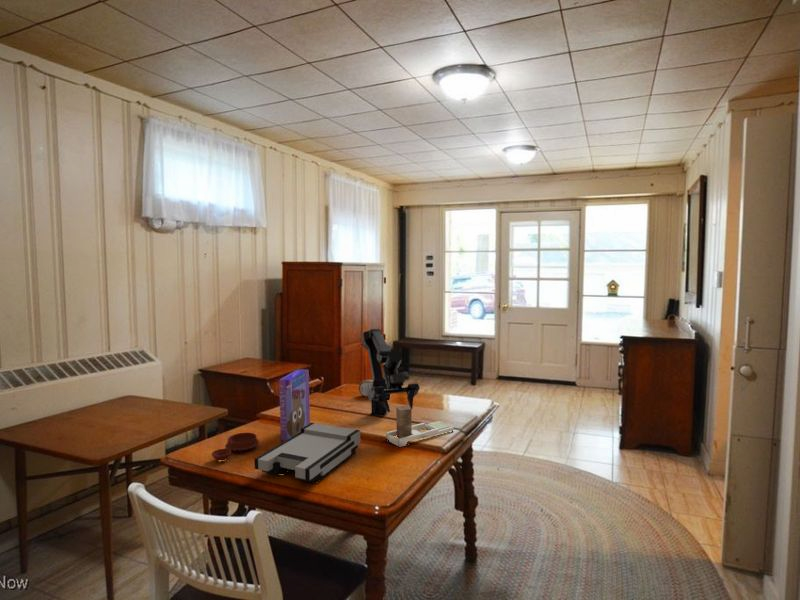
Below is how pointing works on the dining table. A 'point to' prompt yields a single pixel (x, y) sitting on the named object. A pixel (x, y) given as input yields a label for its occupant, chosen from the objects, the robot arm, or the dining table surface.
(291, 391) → the cereal box
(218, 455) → the pottery
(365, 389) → the tin
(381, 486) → the dining table surface
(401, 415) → the walnut block
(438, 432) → the box
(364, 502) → the dining table surface
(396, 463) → the dining table surface
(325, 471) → the game console
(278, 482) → the dining table surface
